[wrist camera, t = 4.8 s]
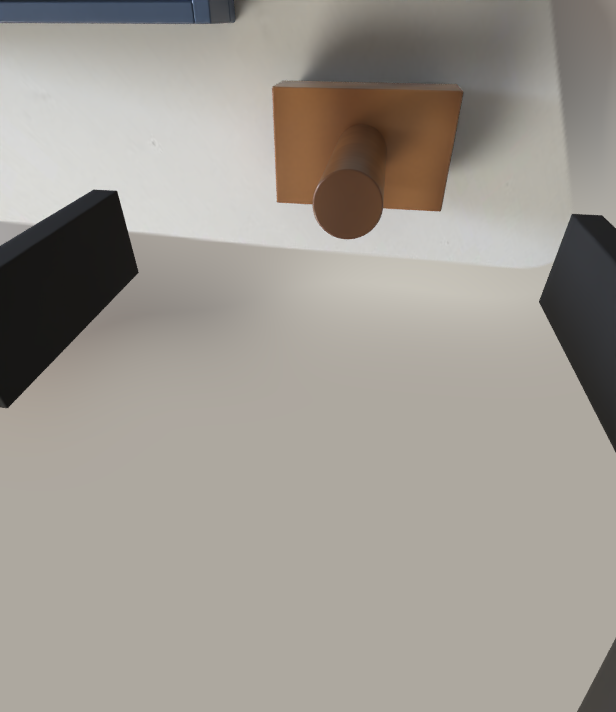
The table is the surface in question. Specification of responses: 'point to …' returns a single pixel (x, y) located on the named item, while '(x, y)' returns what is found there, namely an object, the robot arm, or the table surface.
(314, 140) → the stamp
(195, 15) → the tray
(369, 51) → the table surface
